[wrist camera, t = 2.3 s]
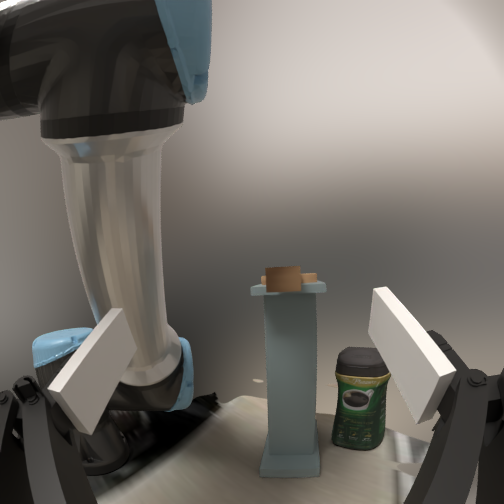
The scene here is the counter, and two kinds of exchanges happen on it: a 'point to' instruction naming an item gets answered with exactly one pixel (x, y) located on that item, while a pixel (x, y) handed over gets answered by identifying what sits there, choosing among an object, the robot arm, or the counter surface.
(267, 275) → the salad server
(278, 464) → the stand
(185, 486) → the counter surface
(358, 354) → the coffee jar
